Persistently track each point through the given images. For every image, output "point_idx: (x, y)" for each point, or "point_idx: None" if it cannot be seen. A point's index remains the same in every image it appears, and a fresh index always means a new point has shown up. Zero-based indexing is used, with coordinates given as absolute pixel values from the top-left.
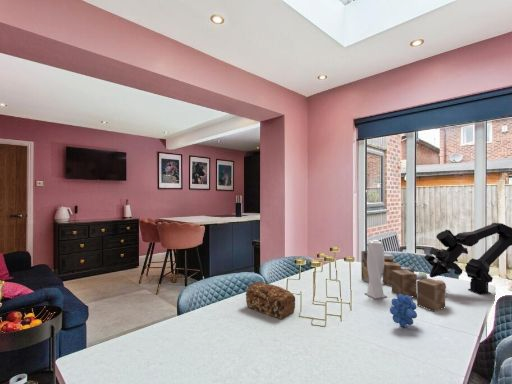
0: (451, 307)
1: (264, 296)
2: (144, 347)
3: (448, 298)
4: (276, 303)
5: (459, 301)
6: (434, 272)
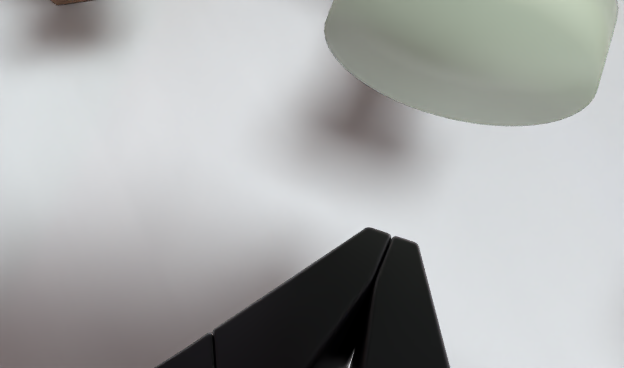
0: (30, 70)
1: None
2: None
3: (173, 314)
4: None
5: (59, 335)
6: (261, 302)
